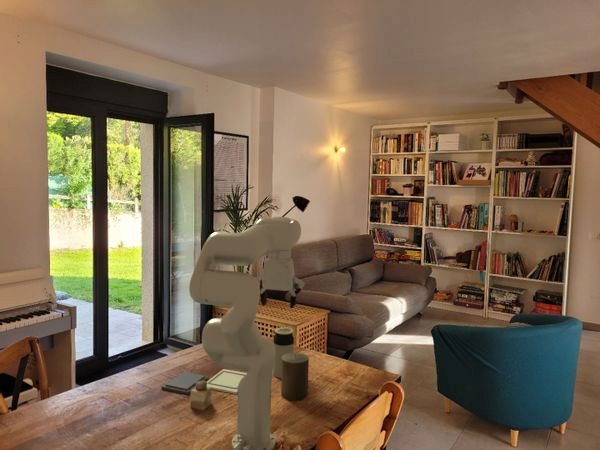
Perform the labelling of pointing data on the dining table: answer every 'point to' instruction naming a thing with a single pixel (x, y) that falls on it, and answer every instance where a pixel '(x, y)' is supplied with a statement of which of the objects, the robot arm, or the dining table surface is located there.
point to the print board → (226, 381)
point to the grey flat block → (184, 383)
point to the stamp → (201, 396)
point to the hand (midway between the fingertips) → (278, 305)
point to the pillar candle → (294, 376)
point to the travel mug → (282, 348)
